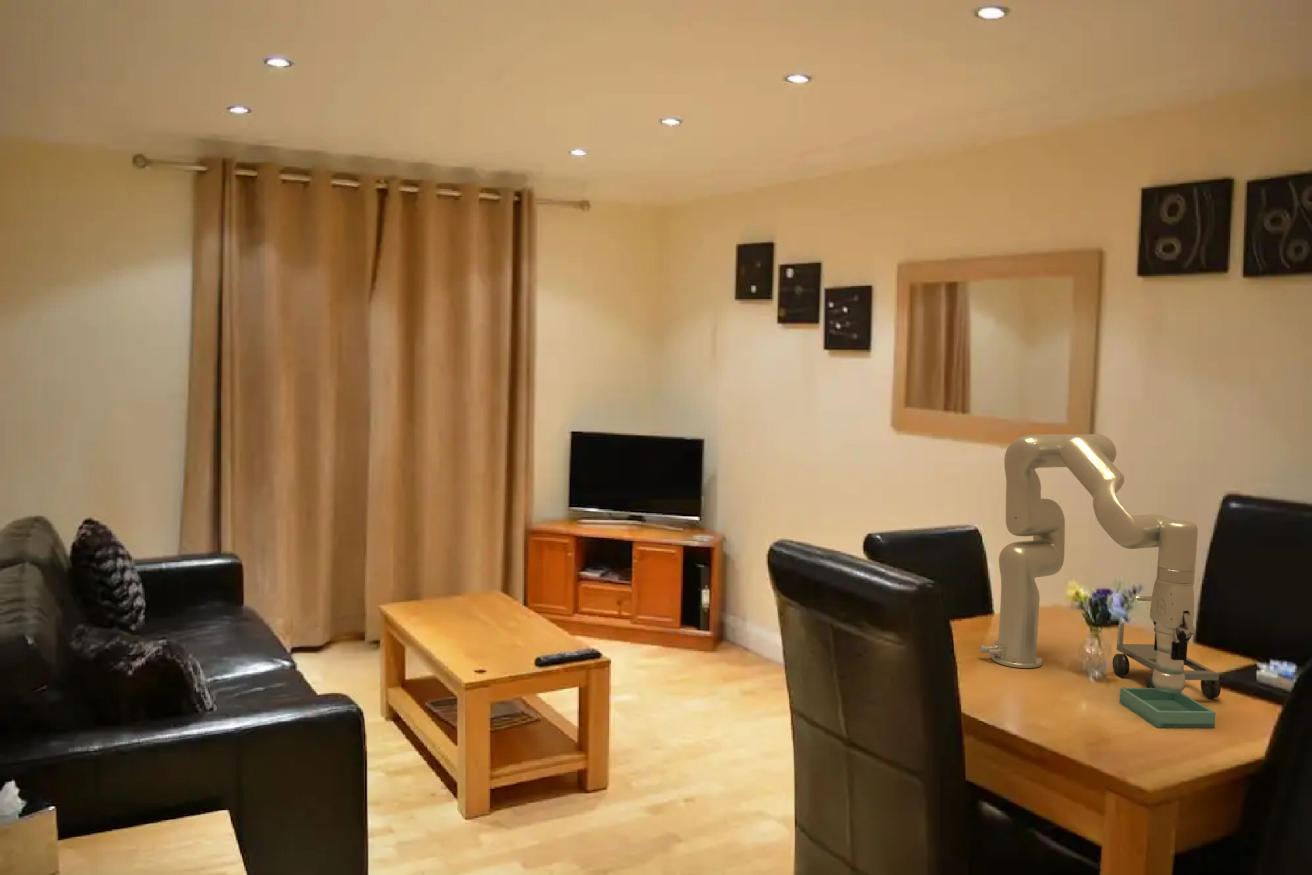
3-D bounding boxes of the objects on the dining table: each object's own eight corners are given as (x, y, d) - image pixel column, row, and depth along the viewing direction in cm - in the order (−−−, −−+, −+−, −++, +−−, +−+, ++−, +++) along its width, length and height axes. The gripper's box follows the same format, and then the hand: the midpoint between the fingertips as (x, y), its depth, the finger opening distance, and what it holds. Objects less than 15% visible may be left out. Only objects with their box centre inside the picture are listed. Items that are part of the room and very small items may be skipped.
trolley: (1160, 702, 239) (1166, 620, 238) (1109, 670, 263) (1114, 595, 262) (1223, 703, 240) (1229, 620, 239) (1165, 670, 264) (1171, 596, 263)
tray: (1156, 727, 223) (1158, 712, 223) (1119, 702, 239) (1120, 687, 239) (1214, 728, 224) (1215, 712, 223) (1173, 702, 240) (1174, 688, 239)
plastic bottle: (1183, 698, 226) (1189, 609, 225) (1149, 692, 230) (1155, 604, 228) (1185, 691, 232) (1192, 603, 230) (1152, 685, 235) (1159, 599, 234)
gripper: (1138, 567, 237) (1133, 644, 238) (1181, 584, 220) (1175, 666, 221) (1170, 568, 237) (1164, 644, 239) (1215, 585, 220) (1209, 667, 222)
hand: (1169, 654), depth 230 cm, fingers closed on plastic bottle, 6 cm apart
